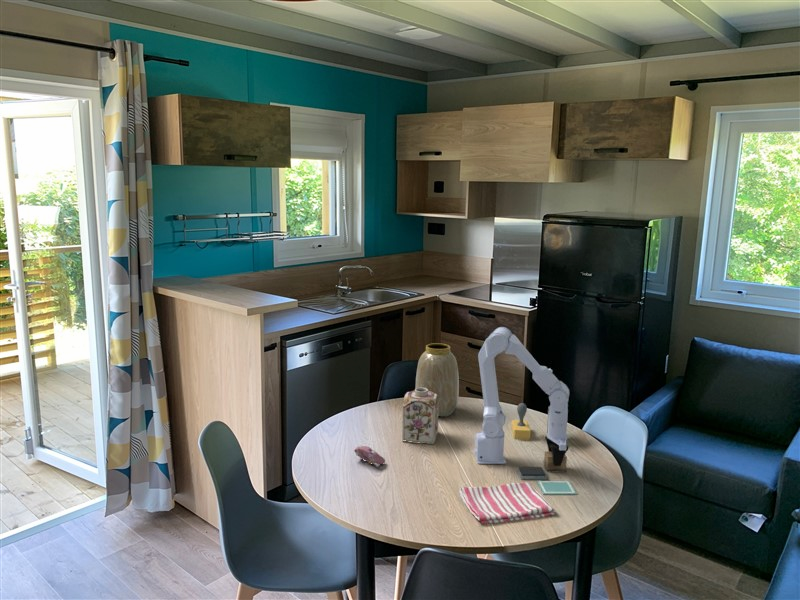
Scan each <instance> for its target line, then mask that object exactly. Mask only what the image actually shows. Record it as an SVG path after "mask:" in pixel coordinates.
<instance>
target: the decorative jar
mask: <svg viewBox="0 0 800 600" xmlns="http://www.w3.org/2000/svg"><path fill="white" fill-rule="evenodd" d="M438 401H439V398H438V395H437V394H435V393H433V392H430V391H428V389H426V388H416V387H415V389H414V390H411V391H407V392H406V393H405V394H404V397H403V402H402V421H401V422H402V423H401V425H402V427H401V429H402V430H401V432H402V435H401V436H402V437H401V438H402V440H406V441H412V442H420V443H419V444H422V443H427V444H426V445H434V444H435V442H436V439H437V435H438V432H439V417H438ZM412 442H411V443H412Z"/></svg>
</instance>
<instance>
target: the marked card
mask: <svg viewBox="0 0 800 600" xmlns="http://www.w3.org/2000/svg"><path fill="white" fill-rule="evenodd" d="M536 483H537V485H538V487H539V489H540V491H541V493H542V494H543V495H542V496H548V495H549V496H555V495H556V496H562V495H563V496H564V495H565V496H566V495H567V496H572V495H573V496H576V495H578V493H577V491H576V490H575V488H574V486H573V485H572V483H571V482H570V480H536Z"/></svg>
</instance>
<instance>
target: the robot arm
mask: <svg viewBox="0 0 800 600" xmlns="http://www.w3.org/2000/svg"><path fill="white" fill-rule="evenodd" d="M504 351H505V354H506V355H514V356H515V357H516V358H517V359H518V360H519V361H520V362H521V363H522V364H523V365H524V366H525V367H526V368H527V369H528V370H530V372H531V373H532V376H531V377H532V380H533V381H534V382H535V383H536V384H537V385H538V387H540V389H541V390H542V391H543V392H544V393H545V394H547V395H548V399H549V402H550V405H549V406H550V408H549V422H548V421H547V422H548V433H547V432H546V436H544V439H545V442H546V445H547V450H548V452H552V455H553V464H554V466H561V463H562V460H563V457H564V455H566V454H567V452H568V451H569V449H570V447H569V445H567V441H568V439H570V438H571V436H570V434H568V433H567V429H568V413H569V409H568V407H569V404H568V403H569V397H570V389H569V387H568V386H567V384H565V383H564V382H563V381H562V380H559V379H558V377H556V375H555V374H554V373H553V371H554V370H553V369H551V367H550V368H548V367H547V366H545V365H540V364H539V363H538V361H537V360H536V359H535V358H534V357H533V355H532V354H531V352H529V350H528V349H527V347H525V346H524V344H523V343H522V342H521V341H520V340H519V338H518V337H517V335H515V334H514V333H512V331H511V330H510V329H509V328H507V327H505V326H500V327H497V328H496V329H495V330H493V331H492V332H491V333H490V334H489V336H488V337H487V338H486V339H485V340H484V343H483V345H482V346H481V348H480V350H479V352H478V356H477V358H478V364H479V373H480V382H481V389H482V398H483V407H484V408H483V413H482V414H483V421H482V424H481V430H482V431H481V432H476V433H475V435H474V439H475V440H474V452H473V453H474V454H473V455H474V457H475V461H476V463H477V464H480V465H481V464H482V465H487V464H489V465H496V464H499V465H506V464H507V460H506V458H505V456H504V455H505V453H504V451H505V431H504V428H503V427H504V425H505V424H506V415H505V414H504V413H503V409H502V406H501V404H500V398H499V390H498V389H499V388H498V381H497V374H496V365H495V364H496V363H495V358H496V356H498V355H499V354H501V353H502V352H504Z"/></svg>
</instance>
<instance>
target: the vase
mask: <svg viewBox="0 0 800 600" xmlns="http://www.w3.org/2000/svg"><path fill="white" fill-rule="evenodd" d="M458 367H459V366H458V361H457V359H456V356H455V355H454V353H452V352H451V346H450V345H449V344H446V343H440V342H437V343H436V342H435V343H434V342H433V343H429V344H426V345H425V351H423V353H421V355H420V357H419V359H418V362H417V368H416V376H415V389H416V388H426V389H428V391H430V392H433V393H435V394H437V395H438V398H439V401H438V416H444V417H447V415H448V416H450V414H451V415H452V414H453V413H454V412H455V410H456V409H457V406H458V403H459V391H460V390H459V389H460V384H459V380H460V378H459V368H458Z"/></svg>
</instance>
